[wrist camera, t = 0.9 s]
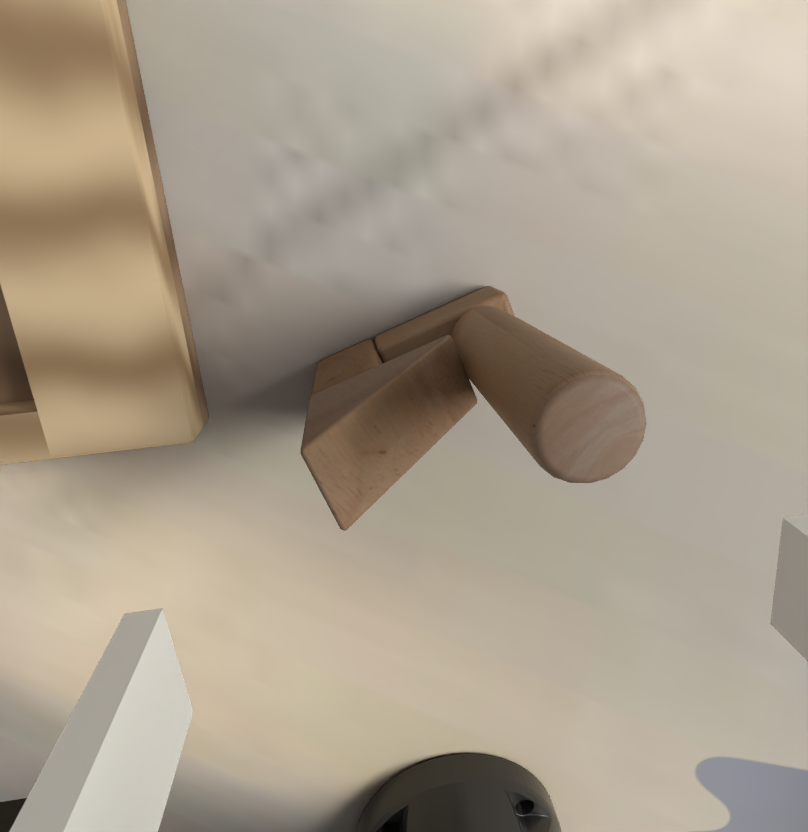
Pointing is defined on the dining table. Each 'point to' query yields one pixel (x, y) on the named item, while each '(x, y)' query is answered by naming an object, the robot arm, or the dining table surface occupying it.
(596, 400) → the wooden block
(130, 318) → the wooden tray
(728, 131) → the dining table surface
